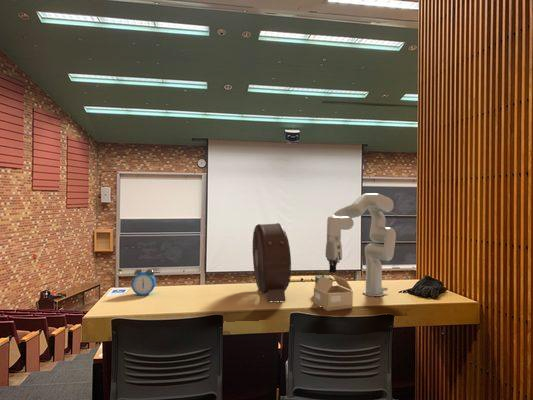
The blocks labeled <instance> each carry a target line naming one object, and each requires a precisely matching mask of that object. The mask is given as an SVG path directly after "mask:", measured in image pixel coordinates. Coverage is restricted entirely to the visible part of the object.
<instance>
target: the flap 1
mask: <svg viewBox="0 0 533 400" xmlns="http://www.w3.org/2000/svg"><path fill="white" fill-rule="evenodd" d="M320 276H321V277H320V278H319V280H318V282H317V283H316V285H314V287H316V288H318V289H320V290H322V291H324V292H328V290H329V289H330V287H331V285H332V286H333V284H334V281H335V280H333V279H332V280H330V279H327V278H324V277H322V275H320Z"/></svg>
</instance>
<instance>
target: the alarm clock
mask: <svg viewBox="0 0 533 400" xmlns="http://www.w3.org/2000/svg"><path fill="white" fill-rule="evenodd" d="M130 285H131V289H132V291H133V293H135V294H136V296H150V294H151V293H152V291H153V290H154V289H155V288H156V286H157V280H156V277H155V271H154V270H153V269H150V268H148V269H146V270H144V269H143V270H142V269H135V270H134V272H133V278H132V281H131V284H130Z"/></svg>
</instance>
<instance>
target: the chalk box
mask: <svg viewBox="0 0 533 400" xmlns="http://www.w3.org/2000/svg"><path fill="white" fill-rule="evenodd" d="M320 272H321V275H315V277H314V278H315V279H314V282H315V285H316V283H317V282H318V280H319V278H320V277H321V276H322V277H324V278H327V279H330V280H332V281H333V277H331V276H330V275H325V274H324V272H323V271H322V270H321V271H320ZM315 285H314V286H315ZM331 286H333V284H332V285H331Z"/></svg>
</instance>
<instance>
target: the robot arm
mask: <svg viewBox="0 0 533 400" xmlns="http://www.w3.org/2000/svg"><path fill="white" fill-rule="evenodd" d="M393 209H394V201H393V200H392V199H391V198H390V197H389V196H385V195H383V194H380V193H375V192H373V193H363V194H361V195H360V196H359V197H358V198H357V199H355V201H353V203H351V204H350V205H349V204H348V205H347V206H344V207H342V208H339V209H338V210H337V211H335V212H334V213H332V215H331V216H330V215H329V216H328V217H327V220H326V225H327V226H326V245H325V258H326V260H327V261H328V265H329V269H328V270H329V271H328V272H329V273H335V274H336V273H337V266H338V264H339V263H340V261H342V260H343V249H342V248H343V246H342V241H341V239H342V236H341V235H342V233H341V232H342V230H347V231H348V230H351V229H352V228H353V227H354V220H353V219H355V218H358V217H361V216H362V215H364V213H365V212H366V211H367V210H368V212H369V213H370V217H371V222H370V229H369V239H370V240H371V241H373V242H378V243H373V242H371V243H368V244H366V245H365V246H364V255H365V290H363V291H362V293H363V295H365V296H369V297H374V296H380V297H383V296H382V295H385V293H384V291H388V287H386V286H385V287H383V285H382V284H383V283H382V282H383V281H382V280H383V266H382V262H381V261H386V262H390V261H391V260H392V259H393V257H394V254H395V246H396V238H397V233H396V231H395V229H394V228H392V227H387V226H386V220H387V219H386V217H385V214H384V213H389V212H391V211H393ZM381 243H383V244H381Z"/></svg>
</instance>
